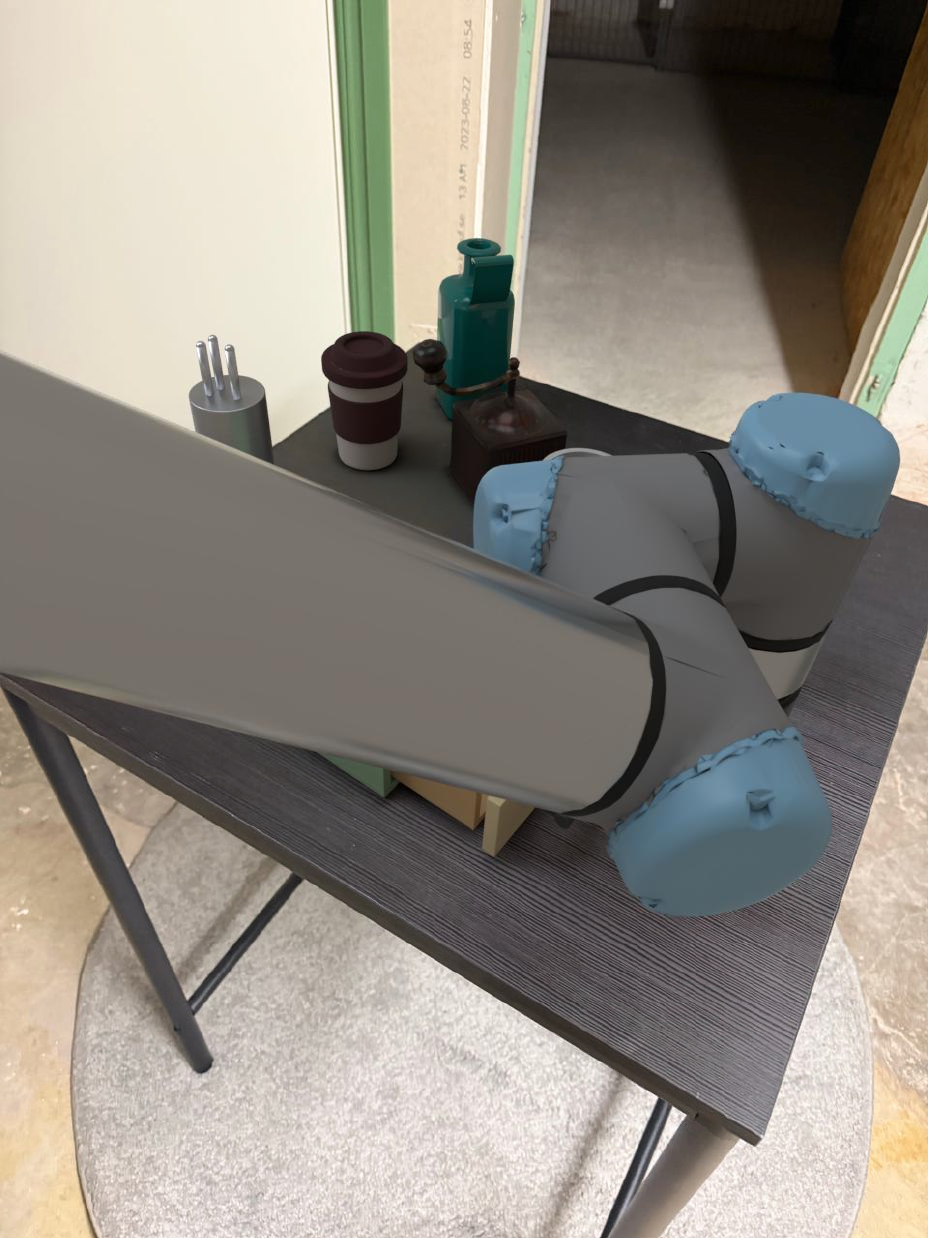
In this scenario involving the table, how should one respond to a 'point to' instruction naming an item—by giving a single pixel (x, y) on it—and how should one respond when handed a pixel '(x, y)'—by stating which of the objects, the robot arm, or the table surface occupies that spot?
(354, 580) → the robot arm
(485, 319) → the teal bottle
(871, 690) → the table surface
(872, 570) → the table surface
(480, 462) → the manual coffee grinder
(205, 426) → the cylinder
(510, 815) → the drawer
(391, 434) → the coffee cup
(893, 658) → the table surface
